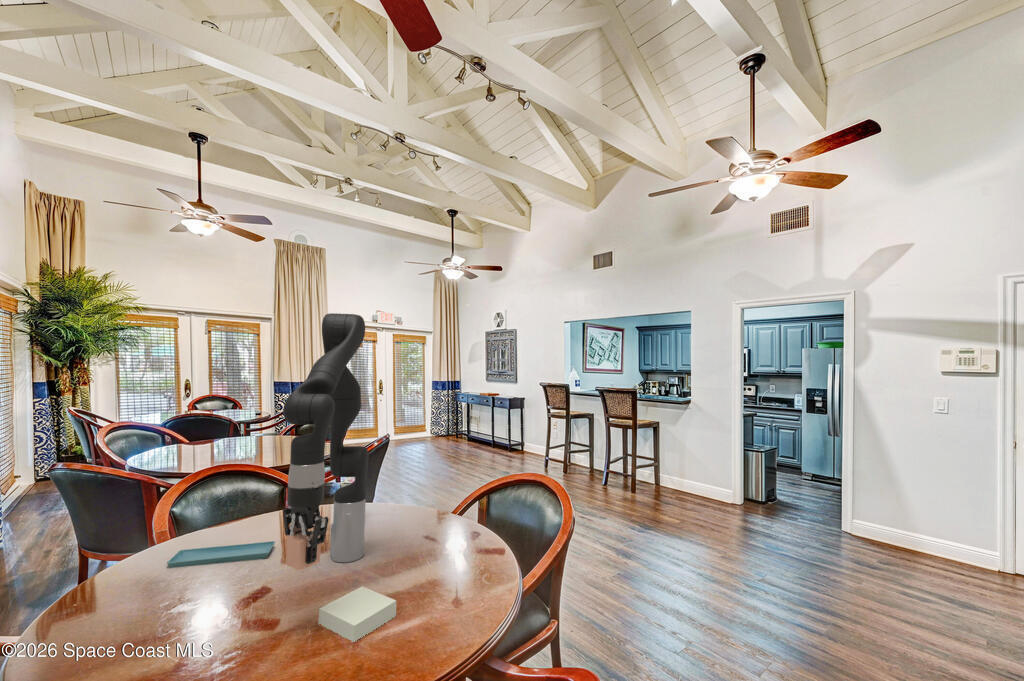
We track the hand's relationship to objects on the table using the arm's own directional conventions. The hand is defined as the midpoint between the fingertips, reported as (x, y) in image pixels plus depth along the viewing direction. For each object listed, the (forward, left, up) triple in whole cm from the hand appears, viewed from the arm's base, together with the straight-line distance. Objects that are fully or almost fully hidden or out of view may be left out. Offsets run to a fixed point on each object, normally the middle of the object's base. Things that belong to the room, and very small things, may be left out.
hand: (303, 558), depth 99 cm
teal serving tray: (-52, +9, -16) cm, 55 cm away
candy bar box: (-44, +48, -15) cm, 67 cm away
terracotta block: (0, 0, -1) cm, 1 cm away
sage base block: (+8, +9, -16) cm, 20 cm away
